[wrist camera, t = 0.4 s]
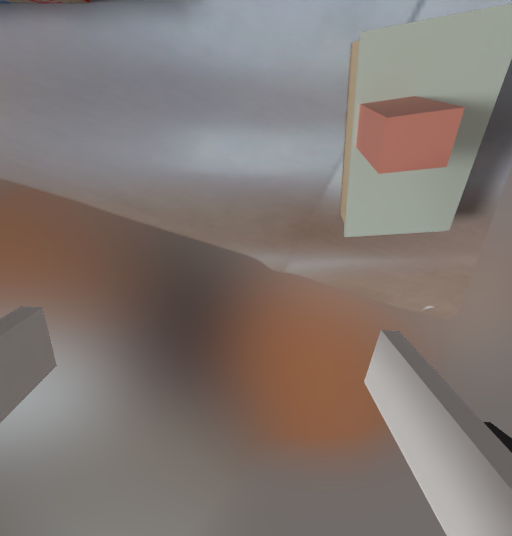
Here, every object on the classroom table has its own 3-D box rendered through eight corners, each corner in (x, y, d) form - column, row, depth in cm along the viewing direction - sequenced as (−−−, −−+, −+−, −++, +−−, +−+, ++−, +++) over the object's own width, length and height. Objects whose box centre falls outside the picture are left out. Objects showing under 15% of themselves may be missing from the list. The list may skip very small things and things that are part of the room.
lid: (360, 32, 23) (395, 15, 15) (526, 1, 21) (665, -39, 13) (343, 234, 35) (358, 280, 28) (446, 227, 33) (493, 275, 25)
